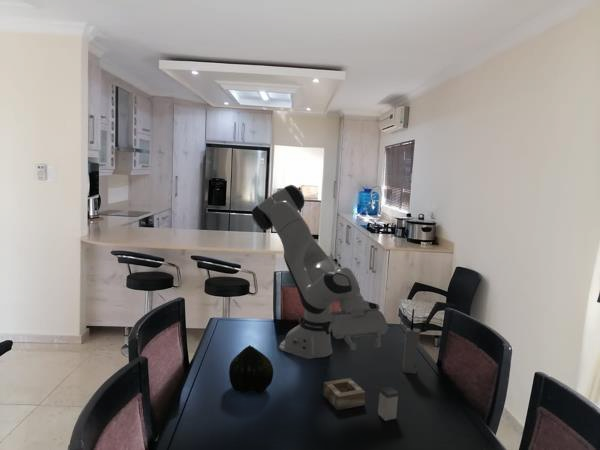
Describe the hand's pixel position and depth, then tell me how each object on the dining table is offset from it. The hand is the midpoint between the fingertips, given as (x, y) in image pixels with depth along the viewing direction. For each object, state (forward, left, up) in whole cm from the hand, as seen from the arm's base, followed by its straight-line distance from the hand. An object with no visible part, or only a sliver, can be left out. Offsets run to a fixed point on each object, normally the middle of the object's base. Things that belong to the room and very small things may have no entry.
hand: (366, 347), depth 142 cm
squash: (-36, -13, -18) cm, 42 cm away
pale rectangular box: (+10, -8, -17) cm, 21 cm away
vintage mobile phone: (+12, +28, -18) cm, 35 cm away
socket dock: (-5, -5, -17) cm, 19 cm away
